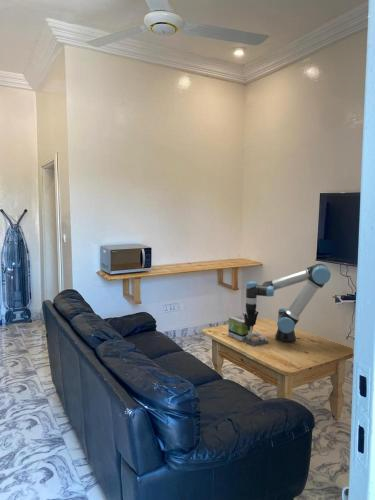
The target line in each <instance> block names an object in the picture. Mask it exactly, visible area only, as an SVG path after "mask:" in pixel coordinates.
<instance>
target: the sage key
mask: <svg viewBox="0 0 375 500" xmlns="http://www.w3.org/2000/svg"><path fill="white" fill-rule="evenodd" d="M251 337H255V336H254V335H246V339H247V340H249V341H251Z"/></svg>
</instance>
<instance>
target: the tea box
mask: <svg viewBox="0 0 375 500" xmlns="http://www.w3.org/2000/svg"><path fill="white" fill-rule="evenodd" d="M227 329H228V337H231V338H233V339H235V340H237V341H240V342H243V339H245V338H246V335H248V326H246V325H245V320H244V316H239V315H235V316H230V317H228V328H227Z"/></svg>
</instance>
